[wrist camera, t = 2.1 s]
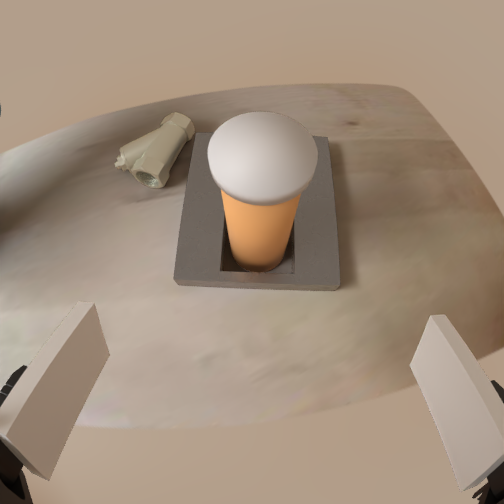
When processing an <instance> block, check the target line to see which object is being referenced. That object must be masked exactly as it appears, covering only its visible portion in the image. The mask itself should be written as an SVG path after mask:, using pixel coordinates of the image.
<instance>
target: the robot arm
mask: <svg viewBox="0 0 504 504" xmlns="http://www.w3.org/2000/svg"><path fill="white" fill-rule="evenodd" d="M0 115H1V105H0ZM109 356H110V354H109V351H108V348H107V345H106V341H105V338H104V335H103V332H102V328H101V325H100V321H99V318H98V314H97V311H96V307H95V303H91V302H83V301H78V303H77V304H76V305H75V306H74V307H73V309H72V310H71V311H70V312H69V314H68V315H67V316H66V317H65V319H64V320H63V321H62V322H61V324H60V325H59V326H58V327H57V329H56V330H55V331H54V332H53V334H52V335H51V336H50V338H49V339H48V340H47V342H46V343H45V344H44V346H43V347H42V348H41V349H40V351H39V352H38V354H37V355H36V356H35V358H34V359H33V360H32V362H31V363H30V364H29V366H28V367H27V366H24V365H23V366H22V367H20V368H19V369H18V370H16V371H15V372H14V373H13V374H12V375H11V377H10V378H9V379H8V381H7V382H6V385H4V387H3V388H2V389H1V391H0V392H1V393H0V504H33V502H32V499H31V496H30V492H29V489H28V485H27V482H26V478H25V475H24V473H23V471H22V470H21V469H22V467H23V465H24V466H25V467H27V469H29V470H30V472H32V473H33V474H35V475H37V476H39V477H42V478H44V479H46V480H48V481H49V480H50V477H51V475H52V473H53V471H54V468H55V466H56V464H57V461H58V459H59V457H60V454H61V452H62V450H63V448H64V446H65V444H66V441H67V439H68V437H69V435H70V433H71V431H72V428H73V426H74V424H75V422H76V420H77V418H78V416H79V414H80V412H81V410H82V408H83V406H84V404H85V402H86V400H87V398H88V396H89V394H90V392H91V390H92V388H93V386H94V384H95V382H96V380H97V378H98V376H99V374H100V373H101V371H102V369H103V367H104V365H105V363H106V361H107V359H108V358H109ZM410 367H411V370H412V372H413V374H414V376H415V378H416V380H417V383H418V385H419V387H420V389H421V391H422V394H423V396H424V398H425V401H426V403H427V405H428V407H429V410H430V412H431V415H432V417H433V420H434V422H435V424H436V427H437V429H438V432H439V434H440V437H441V439H442V442H443V444H444V447H445V449H446V453H447V455H448V458H449V461H450V463H451V466H452V469H453V472H454V475H455V477H456V480H457V483H458V487H459V490H460V492H462V491H465V490H467V489H470V488H472V487H475V486H477V485H478V484H479V483H480V482H482V481H483V480H484V479H485V478H486V477H487V479H488V483H487V484H485V485H484V486H483V487H482V488H481V489H479V490H478V491H477V492H476V493H475V494H474V495H473V497H472V498H476V497H477V496H478V495H480V494H481V493H482V495H481V496H480V497H479V498H478V500H480V501H479V504H504V389H503V388H502V387H501V386H500V385H499V384H498V383H497V382H495V381H494V380H493V381H490V380H489V378H488V377H487V375H486V374H485V372H484V371H483V369H482V368H481V366H480V364H479V363H478V361H477V360H476V358H475V357H474V355H473V354H472V352H471V351H470V349H469V348H468V346H467V345H466V343H465V342H464V341H463V339H462V338H461V336H460V335H459V333H458V332H457V331H456V329H455V328H454V326H453V325H452V324H451V322H450V321H449V319H448V318H447V317H446V315H445V314H443V315H430V317H429V320H428V322H427V325H426V327H425V330H424V333H423V335H422V338H421V340H420V342H419V345H418V347H417V350H416V352H415V354H414V357H413V359H412V361H411V363H410Z"/></svg>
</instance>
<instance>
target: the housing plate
mask: <svg viewBox="0 0 504 504" xmlns="http://www.w3.org/2000/svg"><path fill="white" fill-rule="evenodd" d="M213 134H214V132H210V133H196V136H195V141H194V146H193V151H192V157H191V162H190V168H189V174H188V179H187V185H186V192H185V198H184V204H183V211H182V217H181V224H180V231H179V238H178V246H177V254H176V262H175V270H174V280H175V282H176V283H177V284H178V285H184V286H203V287H223V288H247V289H275V290H313V291H335V290H336V289H337V288H338V287H339V286H340V266H339V249H338V233H337V220H336V208H335V197H334V187H333V178H332V169H331V160H330V152H329V144H328V137H318V136H312V137H313V139H314V141H315V143H316V146H317V151H318V160H317V165H316V168H315V171H314V175H313V177H312V180H311V182H310V184H309V185H308V186H307V188H306V189H305V190H304V191H303V192H302V193H301V195H300V199H299V203H298V207H297V210H296V214H295V218H294V221H293V225H292V274H284V273H255V272H230V271H223V260H224V246H225V233H226V217H225V211H224V205H223V199H222V193H221V189H220V188H219V187H218V185H217V184H216V182H215V181H214V179H213V177H212V174H211V171H210V166H209V161H208V145H209V142H210V139H211V137H212V135H213Z"/></svg>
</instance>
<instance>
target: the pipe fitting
mask: <svg viewBox="0 0 504 504" xmlns="http://www.w3.org/2000/svg"><path fill="white" fill-rule="evenodd" d="M194 132H195V129H194V125H193V122H192V120H191V119H190V118H188V117H187V116H185V115H183V114H180V113H177V112H174V113H171V114H169V115H167V116H166V117H165V118H164V119H163V121H162V122H161V124H160V128H158V129H156V130H154V131H152V132H150V133H148V134H146V135H144V136H142V137H140V138H138V139H136V140H134V141H132V142H130V143H128V144H126V145H124V146H122V147H120V153H121V155H119V156H117V161H116V162H115V166H116V168H117V169H120V168H121V169H122V170H123V171H125V170H127V169H128V170H129V172H130V173H131V174H133V176H134V177H135V178H136V179H137V180H138V181H139V182H140V183H142V184H143V185H145V186H147V187H150V188H155V189H158V188H161V187H164V186H165V184H166V182H167V180H168V178H169V177H170V175H169V171H170V169H171V167H172V165H173V163H174V162H175V160H176V158H177V156H178V154H179V153H180V151H181V149H182V148H183V146H184V144H185V142H187V141H189V140H190V139H191V137H192V136H193V134H194Z"/></svg>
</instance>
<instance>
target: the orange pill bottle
mask: <svg viewBox="0 0 504 504" xmlns="http://www.w3.org/2000/svg"><path fill="white" fill-rule="evenodd" d="M317 160H318V151H317V146H316V143H315V141H314V139H313V137H312V135H311V134H310V133H309V131H308V130H307V129H306V128H305V127H304V126H302V125H301V124H300V123H299V122H297V121H295V120H294V119H292V118H290V117H287V116H285V115H282V114H278V113H273V112H265V111H257V112H249V113H244V114H241V115H238V116H235V117H233V118H231V119H229V120H228V121H226V122H225V123H223V124H222V125H221V126H220V127H219V128H218V129H217V130H216V131H215V132H214V134H213V135H212V137H211V139H210V142H209V145H208V161H209V166H210V171H211V174H212V177H213V179H214V181H215V182H216V184H217V185H218V187H219V188H220V189H221V193H222V199H223V205H224V211H225V217H226V223H227V229H228V235H229V240H230V246H231V252H232V255H233V258H234V259H235V261H236V262H237V264H238V265H240V266H241V267H242V268H244V269H245V270H248V271H251V272H256V273H261V272H266V271H269V270H271V269H273V268H275V267H276V266H277V265H278V264H279V263H280V262H281V260H282V259H283V257H284V254H285V250H286V247H287V243H288V239H289V236H290V232H291V229H292V225H293V221H294V218H295V214H296V210H297V207H298V203H299V199H300V195H301V193H302V192H303V191H304V190H305V189H306V188H307V186H308V185H309V184H310V182H311V180H312V177H313V175H314V171H315V168H316V165H317Z"/></svg>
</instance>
